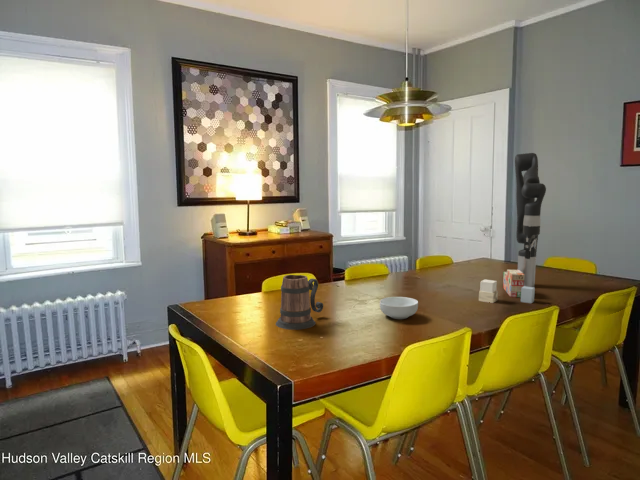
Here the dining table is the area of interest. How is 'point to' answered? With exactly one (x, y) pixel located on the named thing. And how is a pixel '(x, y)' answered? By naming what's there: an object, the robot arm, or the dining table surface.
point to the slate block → (527, 294)
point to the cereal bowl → (398, 307)
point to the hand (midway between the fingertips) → (529, 257)
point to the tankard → (297, 302)
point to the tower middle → (488, 286)
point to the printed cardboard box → (513, 282)
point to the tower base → (488, 296)
